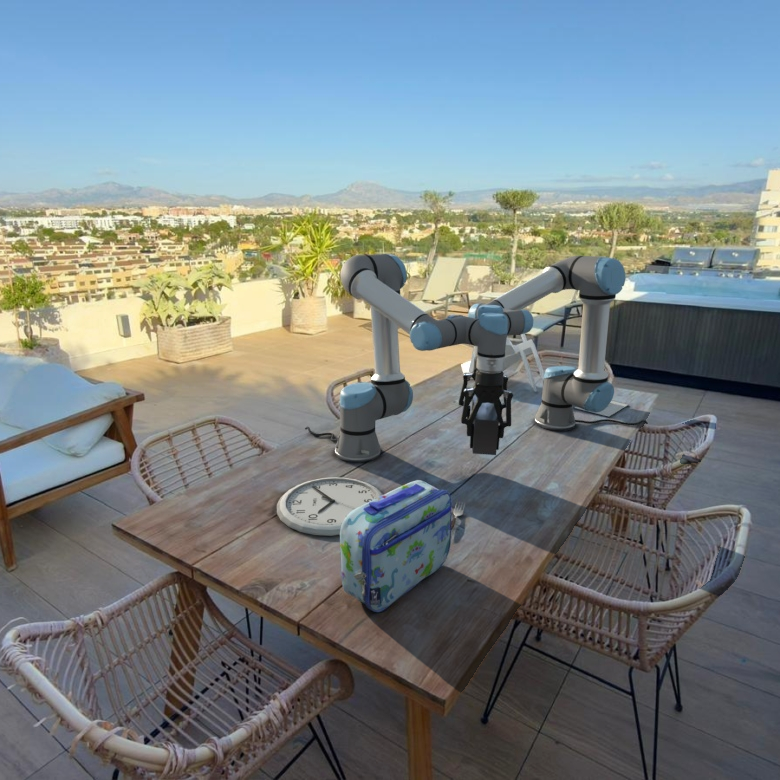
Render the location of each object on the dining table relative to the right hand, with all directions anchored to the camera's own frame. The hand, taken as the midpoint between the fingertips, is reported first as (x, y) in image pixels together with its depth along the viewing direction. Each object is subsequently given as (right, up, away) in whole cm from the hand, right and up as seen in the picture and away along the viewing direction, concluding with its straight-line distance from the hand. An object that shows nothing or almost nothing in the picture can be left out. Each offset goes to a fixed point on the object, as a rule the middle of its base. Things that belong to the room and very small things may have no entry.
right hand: (481, 427), depth 165 cm
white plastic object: (+25, +14, +89) cm, 94 cm away
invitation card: (+63, +4, +61) cm, 88 cm away
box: (-1, -3, -7) cm, 8 cm away
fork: (-12, -23, -30) cm, 39 cm away
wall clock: (-45, -20, -22) cm, 54 cm away
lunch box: (-27, -30, -53) cm, 67 cm away
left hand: (-2, -5, -14) cm, 15 cm away
